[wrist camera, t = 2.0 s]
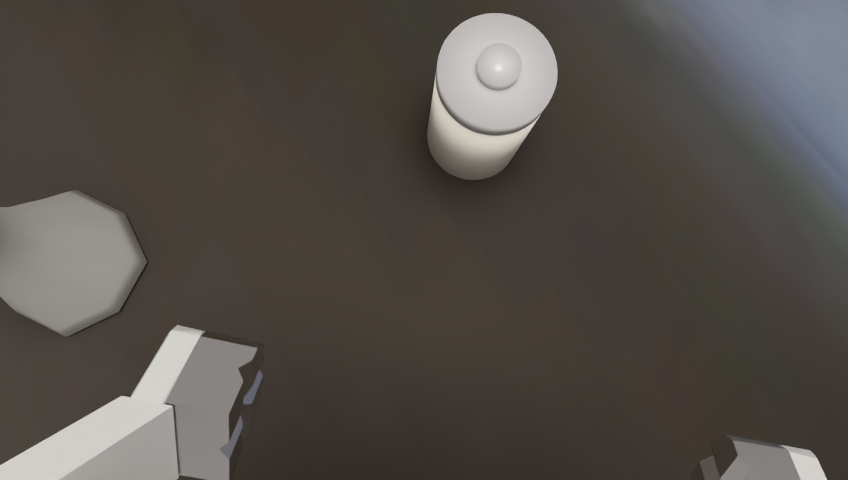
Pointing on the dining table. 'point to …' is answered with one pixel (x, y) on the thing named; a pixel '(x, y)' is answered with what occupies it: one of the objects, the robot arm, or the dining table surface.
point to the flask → (67, 260)
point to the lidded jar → (488, 93)
